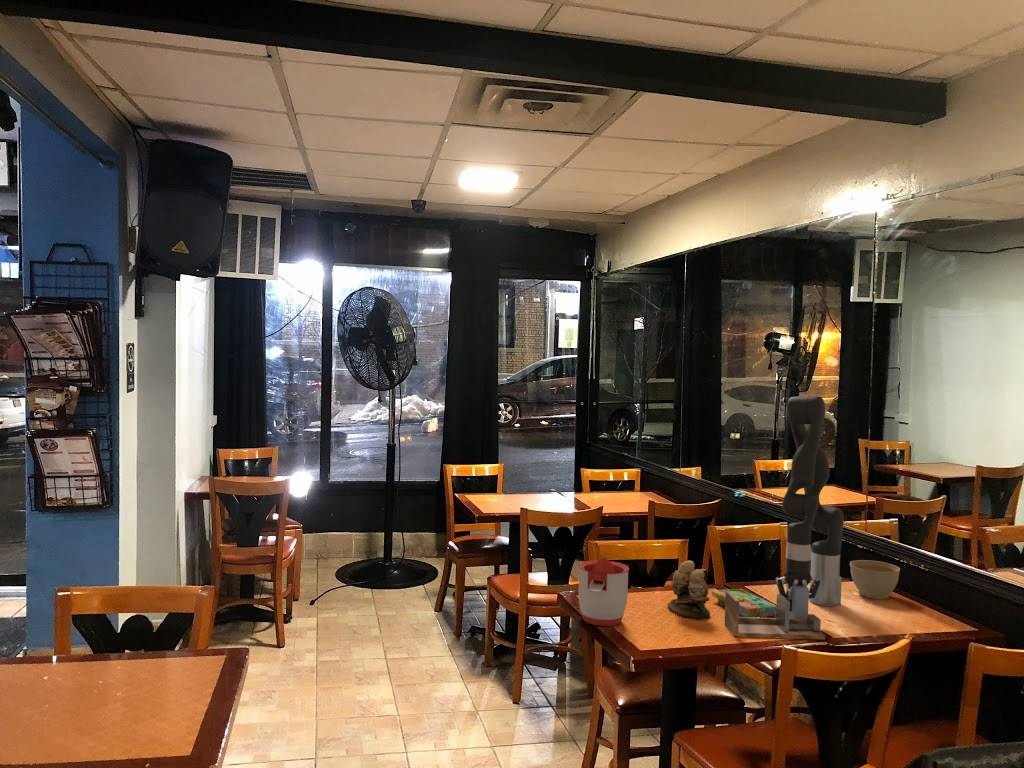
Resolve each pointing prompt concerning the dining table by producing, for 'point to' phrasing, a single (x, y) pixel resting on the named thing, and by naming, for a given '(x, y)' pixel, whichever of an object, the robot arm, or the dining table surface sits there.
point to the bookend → (783, 617)
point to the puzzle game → (747, 603)
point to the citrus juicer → (603, 591)
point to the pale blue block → (799, 602)
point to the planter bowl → (874, 578)
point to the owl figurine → (689, 592)
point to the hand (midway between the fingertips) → (796, 610)
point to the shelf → (761, 624)
